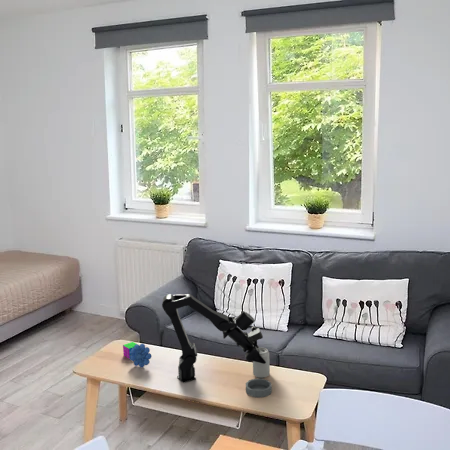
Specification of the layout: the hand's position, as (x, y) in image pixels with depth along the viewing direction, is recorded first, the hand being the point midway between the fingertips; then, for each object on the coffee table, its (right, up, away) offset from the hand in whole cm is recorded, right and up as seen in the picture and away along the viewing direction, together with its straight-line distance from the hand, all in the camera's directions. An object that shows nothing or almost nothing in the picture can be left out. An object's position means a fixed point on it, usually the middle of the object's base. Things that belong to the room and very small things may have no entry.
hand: (264, 359), depth 251 cm
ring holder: (-3, -10, -13) cm, 17 cm away
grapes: (-56, -7, +13) cm, 58 cm away
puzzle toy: (-63, -5, +25) cm, 68 cm away
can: (-1, -8, +2) cm, 8 cm away
